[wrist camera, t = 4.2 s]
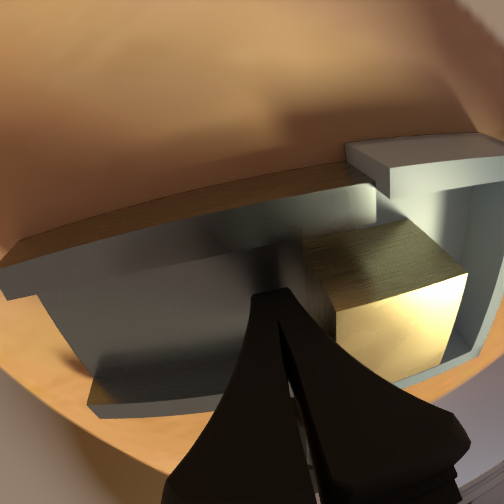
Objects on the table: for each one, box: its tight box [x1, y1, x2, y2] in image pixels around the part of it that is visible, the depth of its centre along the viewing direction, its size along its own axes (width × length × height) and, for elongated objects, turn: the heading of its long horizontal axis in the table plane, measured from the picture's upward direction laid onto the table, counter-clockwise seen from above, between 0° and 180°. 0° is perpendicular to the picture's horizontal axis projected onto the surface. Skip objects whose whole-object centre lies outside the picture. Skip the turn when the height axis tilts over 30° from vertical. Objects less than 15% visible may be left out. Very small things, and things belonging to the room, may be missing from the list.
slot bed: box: [0, 161, 376, 419], centre depth 11 cm, size 12×8×2 cm
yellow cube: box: [301, 219, 468, 383], centre depth 10 cm, size 4×4×4 cm
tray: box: [345, 132, 504, 389], centre depth 10 cm, size 6×10×3 cm, turn 11°
